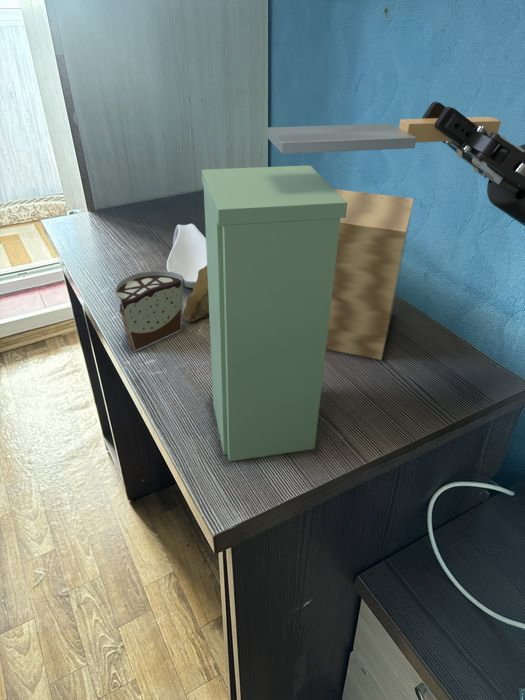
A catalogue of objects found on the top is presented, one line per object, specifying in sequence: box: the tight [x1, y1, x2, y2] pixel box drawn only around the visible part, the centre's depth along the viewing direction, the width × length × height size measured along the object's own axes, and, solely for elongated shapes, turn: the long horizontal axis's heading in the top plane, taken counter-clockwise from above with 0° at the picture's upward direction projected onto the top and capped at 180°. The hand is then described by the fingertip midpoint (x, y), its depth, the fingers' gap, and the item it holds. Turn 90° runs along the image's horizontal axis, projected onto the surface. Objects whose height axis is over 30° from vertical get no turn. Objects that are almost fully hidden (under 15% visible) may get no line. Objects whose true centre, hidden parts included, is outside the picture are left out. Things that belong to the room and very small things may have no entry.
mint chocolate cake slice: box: [113, 270, 186, 353], centre depth 84 cm, size 12×6×10 cm, turn 134°
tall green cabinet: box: [201, 164, 347, 462], centre depth 60 cm, size 12×12×32 cm
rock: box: [182, 265, 209, 323], centre depth 92 cm, size 11×9×10 cm
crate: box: [326, 188, 415, 361], centre depth 83 cm, size 16×14×22 cm
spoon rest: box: [166, 223, 207, 289], centre depth 104 cm, size 24×12×7 cm, turn 17°
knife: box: [266, 116, 502, 155], centre depth 51 cm, size 23×6×2 cm, turn 103°
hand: (435, 113), depth 51 cm, fingers closed on knife, 2 cm apart
